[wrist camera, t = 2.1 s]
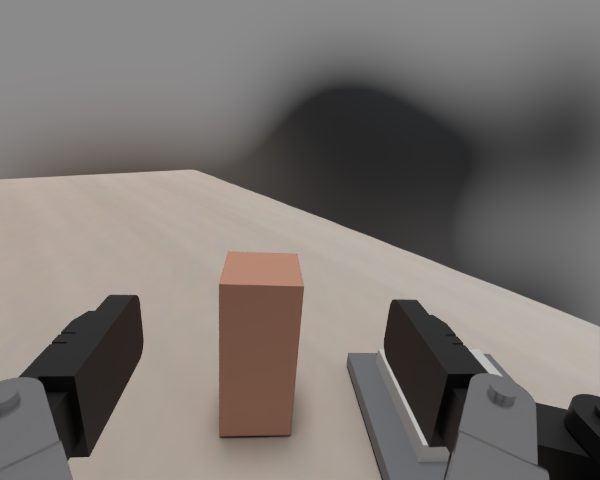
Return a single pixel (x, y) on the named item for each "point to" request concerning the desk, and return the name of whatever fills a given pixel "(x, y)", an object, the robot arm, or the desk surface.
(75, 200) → the desk surface
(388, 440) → the baseplate
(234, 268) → the column
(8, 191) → the desk surface
